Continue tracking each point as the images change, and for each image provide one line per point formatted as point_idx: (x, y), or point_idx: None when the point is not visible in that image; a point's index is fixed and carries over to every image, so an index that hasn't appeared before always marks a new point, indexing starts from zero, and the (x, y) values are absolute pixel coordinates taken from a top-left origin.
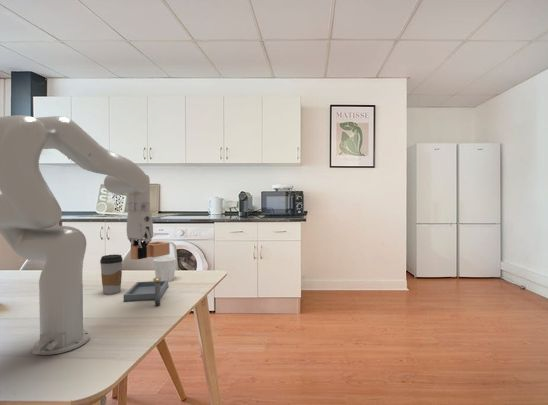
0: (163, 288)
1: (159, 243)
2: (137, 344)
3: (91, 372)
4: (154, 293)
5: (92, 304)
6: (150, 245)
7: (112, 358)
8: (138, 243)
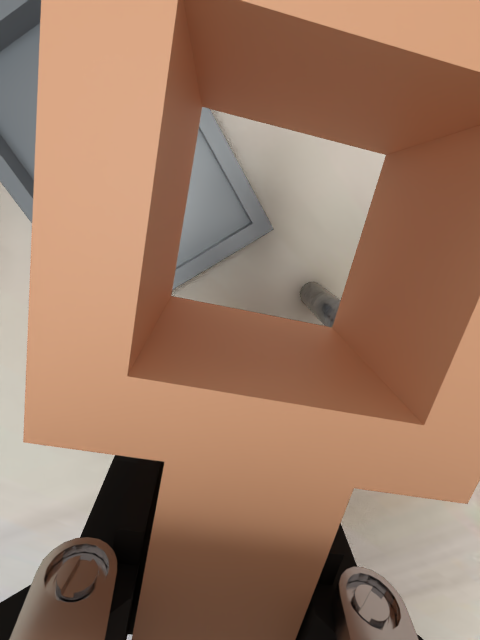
0: (215, 120)
1: (297, 42)
2: (450, 533)
3: (431, 626)
4: (247, 242)
5: (20, 390)
6: (353, 477)
7: (435, 588)
8: (106, 624)
